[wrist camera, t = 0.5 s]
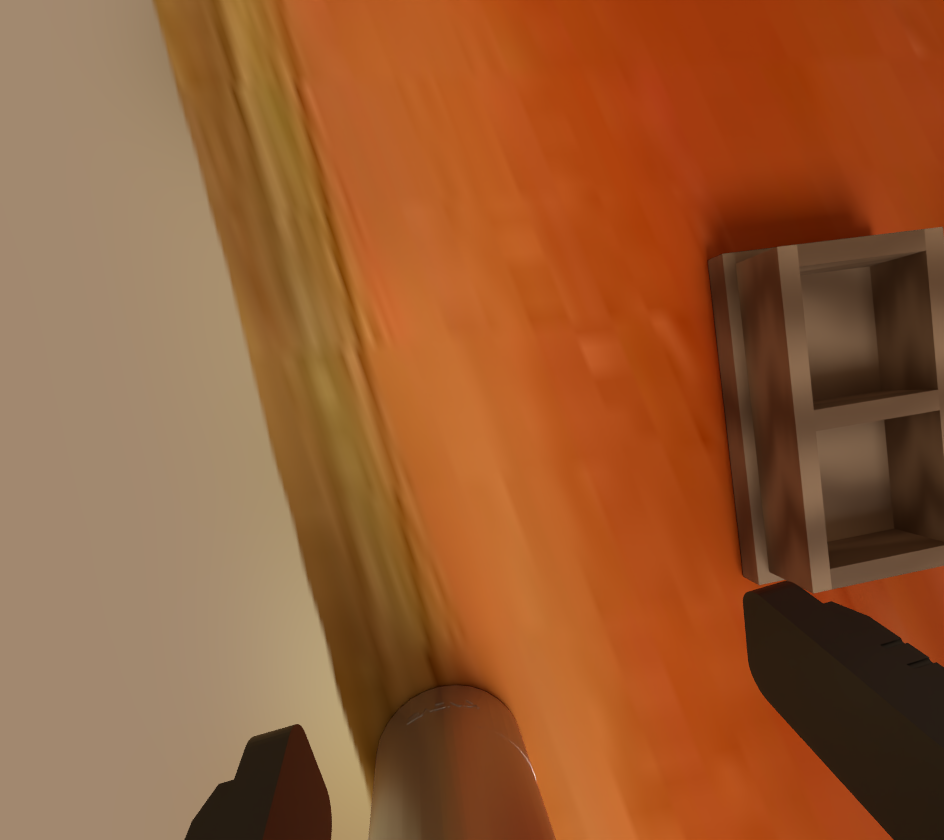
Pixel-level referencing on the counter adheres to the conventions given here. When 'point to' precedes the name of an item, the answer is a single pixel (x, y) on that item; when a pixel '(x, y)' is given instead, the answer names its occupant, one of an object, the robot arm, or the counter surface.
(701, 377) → the counter surface
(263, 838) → the robot arm
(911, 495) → the tray
